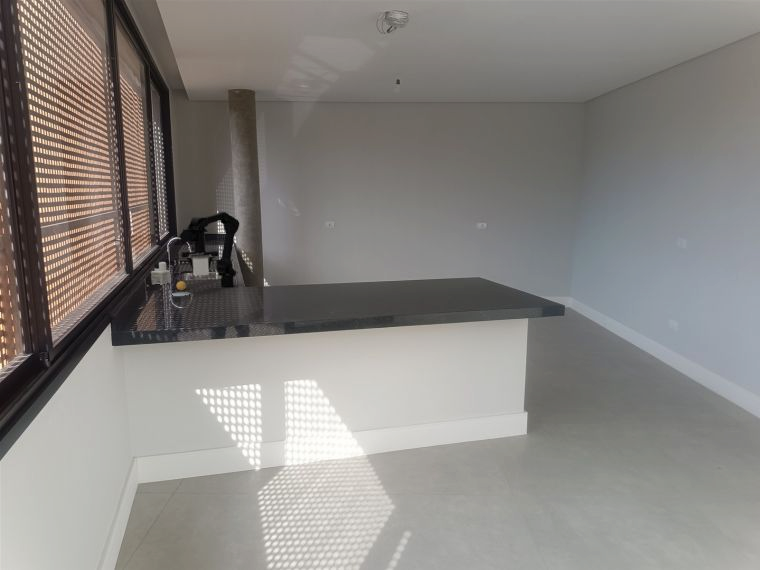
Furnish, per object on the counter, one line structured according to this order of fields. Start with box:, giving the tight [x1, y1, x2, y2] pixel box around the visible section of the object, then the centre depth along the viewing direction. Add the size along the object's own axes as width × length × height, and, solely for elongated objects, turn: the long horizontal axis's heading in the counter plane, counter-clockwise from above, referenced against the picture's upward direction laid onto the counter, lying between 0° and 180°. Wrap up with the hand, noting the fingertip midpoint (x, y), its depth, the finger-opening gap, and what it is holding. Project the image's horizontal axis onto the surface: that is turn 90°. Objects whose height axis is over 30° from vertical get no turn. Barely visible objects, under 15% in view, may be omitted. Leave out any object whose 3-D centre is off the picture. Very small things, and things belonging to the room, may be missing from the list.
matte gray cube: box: [192, 256, 210, 277], centre depth 285 cm, size 8×8×9 cm
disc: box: [171, 291, 191, 297], centre depth 281 cm, size 10×10×1 cm
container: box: [150, 261, 172, 286], centre depth 311 cm, size 8×8×13 cm
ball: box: [176, 280, 187, 291], centre depth 292 cm, size 5×5×5 cm
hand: (201, 269), depth 285 cm, fingers closed on matte gray cube, 8 cm apart
